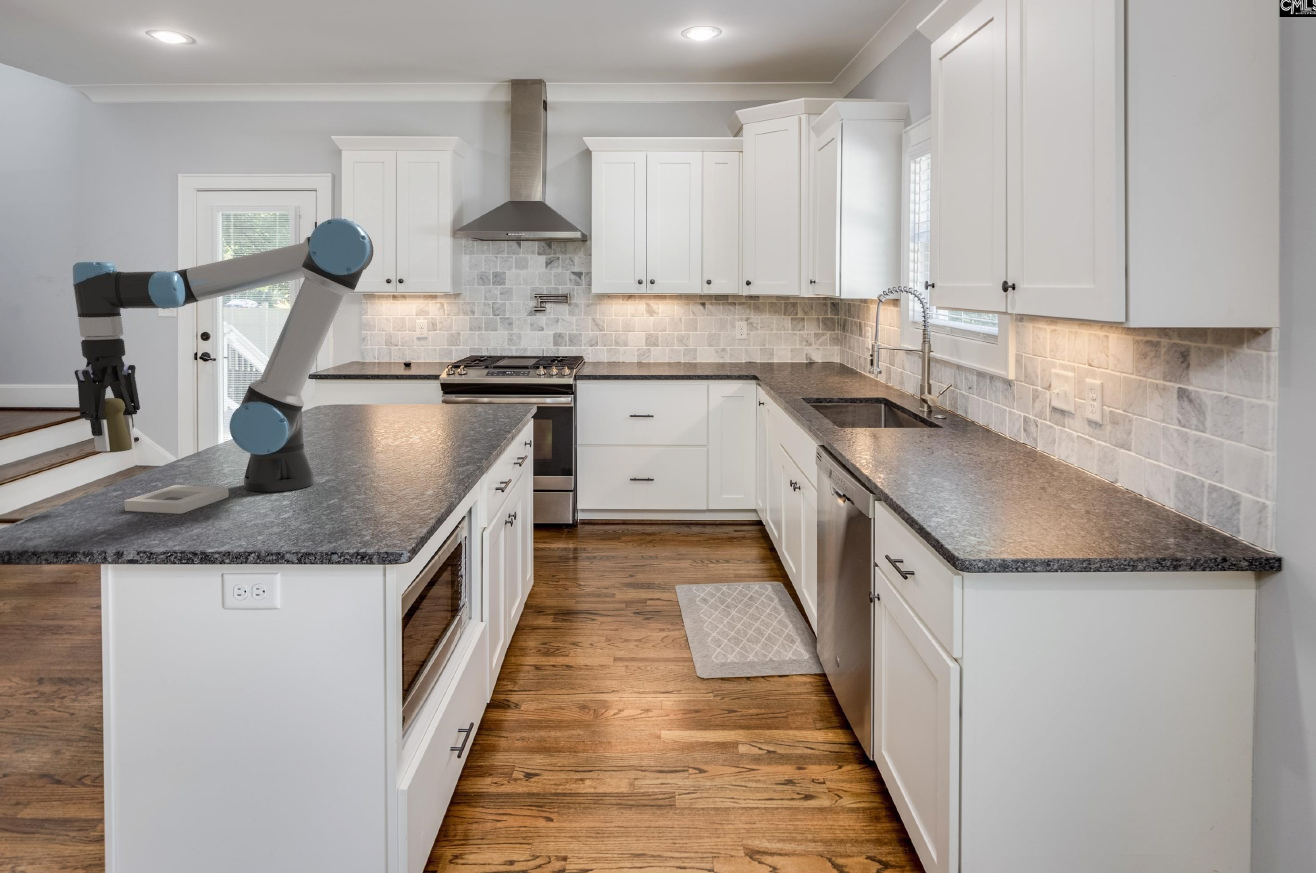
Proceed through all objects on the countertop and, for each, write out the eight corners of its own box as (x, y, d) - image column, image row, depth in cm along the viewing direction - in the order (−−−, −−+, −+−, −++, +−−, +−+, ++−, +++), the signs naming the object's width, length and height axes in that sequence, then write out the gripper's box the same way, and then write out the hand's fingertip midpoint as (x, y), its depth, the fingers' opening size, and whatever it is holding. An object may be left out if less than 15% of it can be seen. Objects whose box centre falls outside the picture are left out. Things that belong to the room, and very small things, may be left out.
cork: (93, 453, 176) (86, 400, 174) (105, 448, 182) (99, 397, 180) (125, 451, 177) (119, 399, 175) (136, 446, 183) (131, 396, 181)
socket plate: (176, 494, 191) (175, 484, 191) (228, 497, 189) (228, 487, 189) (125, 510, 176) (124, 500, 176) (181, 513, 174) (180, 503, 174)
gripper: (121, 335, 185) (133, 440, 189) (46, 340, 167) (62, 456, 171) (152, 335, 184) (164, 440, 188) (80, 340, 166) (95, 456, 169)
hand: (115, 447), depth 179 cm, fingers closed on cork, 6 cm apart
